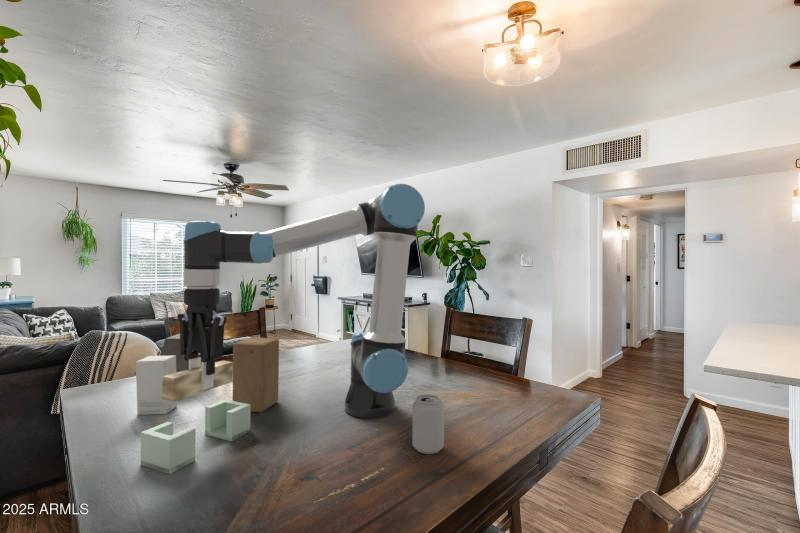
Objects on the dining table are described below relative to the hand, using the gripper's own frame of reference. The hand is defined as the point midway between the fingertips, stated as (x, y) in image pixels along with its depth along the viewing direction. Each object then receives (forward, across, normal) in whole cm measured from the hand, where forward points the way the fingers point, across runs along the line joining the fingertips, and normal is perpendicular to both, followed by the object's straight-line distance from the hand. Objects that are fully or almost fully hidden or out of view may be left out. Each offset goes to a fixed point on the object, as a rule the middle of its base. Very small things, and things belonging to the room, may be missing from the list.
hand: (200, 386), depth 90 cm
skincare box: (+14, +30, -10) cm, 35 cm away
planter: (+14, +44, -29) cm, 55 cm away
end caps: (+14, 0, 0) cm, 14 cm away
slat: (+1, 0, 0) cm, 1 cm away
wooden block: (+14, +7, -25) cm, 30 cm away
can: (+14, -49, -22) cm, 56 cm away
